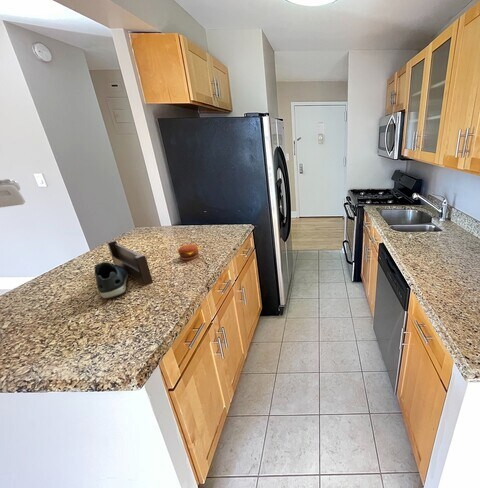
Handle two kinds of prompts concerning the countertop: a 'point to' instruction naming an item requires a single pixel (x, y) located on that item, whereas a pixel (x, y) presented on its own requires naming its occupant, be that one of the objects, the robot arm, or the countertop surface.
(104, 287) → the water shoe
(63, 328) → the countertop surface
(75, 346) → the countertop surface
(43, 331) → the countertop surface
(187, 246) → the hamburger
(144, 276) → the dark brown channel tray
